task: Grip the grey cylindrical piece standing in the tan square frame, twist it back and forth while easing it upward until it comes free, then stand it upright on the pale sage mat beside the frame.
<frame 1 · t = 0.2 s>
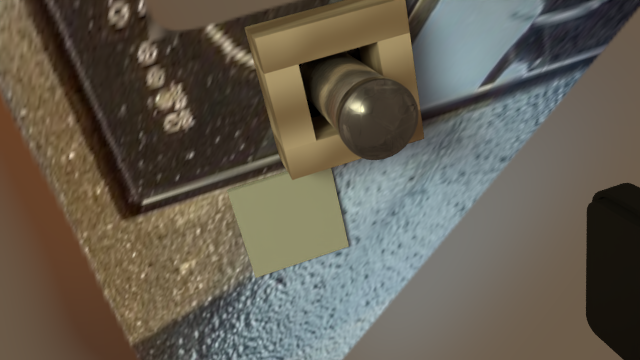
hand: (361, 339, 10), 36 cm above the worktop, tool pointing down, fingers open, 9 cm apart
mat: (290, 218, 50), on the worktop
grey cylindrical piece: (350, 96, 40), in the tan square frame
tan square frame: (327, 76, 46), on the worktop
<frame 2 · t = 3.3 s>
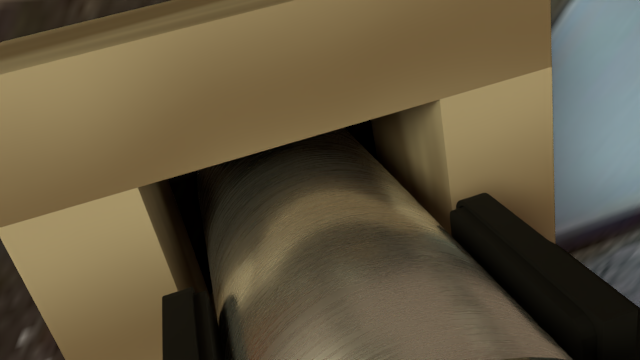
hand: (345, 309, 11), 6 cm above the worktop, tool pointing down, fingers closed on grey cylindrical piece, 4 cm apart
grey cylindrical piece: (339, 296, 11), in the tan square frame, touching gripper
tan square frame: (280, 180, 16), on the worktop
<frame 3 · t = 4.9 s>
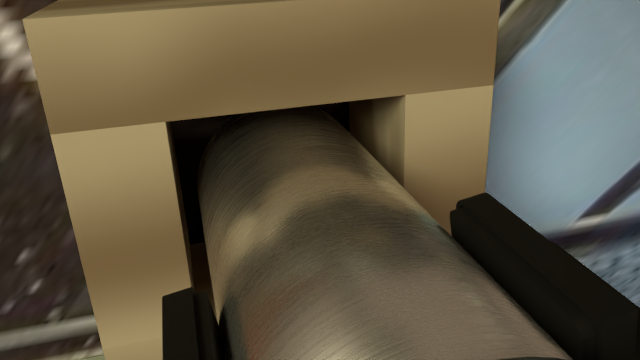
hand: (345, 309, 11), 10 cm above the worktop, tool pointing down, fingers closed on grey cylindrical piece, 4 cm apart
grey cylindrical piece: (339, 296, 11), point 9 cm above the worktop, touching gripper
tan square frame: (266, 154, 19), on the worktop
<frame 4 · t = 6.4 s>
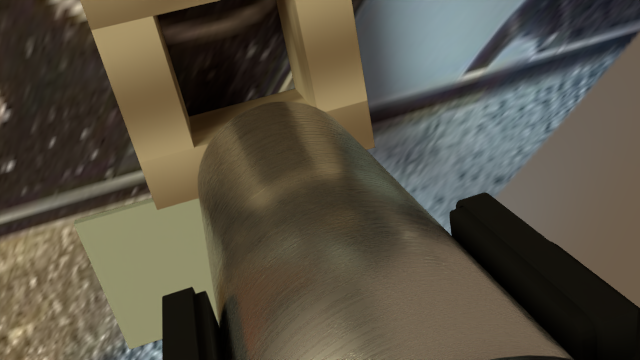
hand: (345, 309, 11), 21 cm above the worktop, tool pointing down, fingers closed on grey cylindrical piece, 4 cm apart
mat: (180, 262, 33), on the worktop
grey cylindrical piece: (340, 296, 11), point 21 cm above the worktop, touching gripper
tan square frame: (228, 48, 29), on the worktop
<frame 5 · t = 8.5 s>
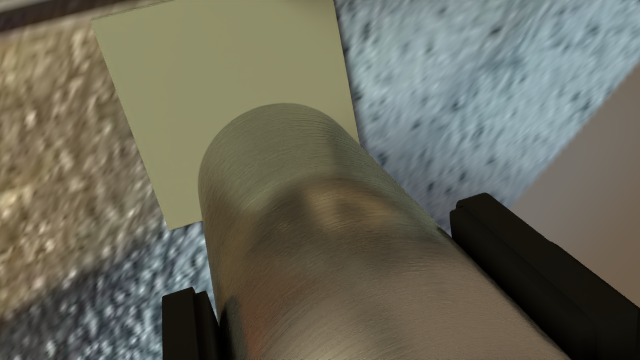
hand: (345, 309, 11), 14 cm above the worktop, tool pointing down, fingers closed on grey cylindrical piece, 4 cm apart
mat: (241, 101, 23), on the worktop
grey cylindrical piece: (340, 299, 11), point 14 cm above the worktop, touching gripper
when the fingers open (8 cm above the worktop, at t = 10.0 s): grey cylindrical piece drops 1 cm, resting on mat.
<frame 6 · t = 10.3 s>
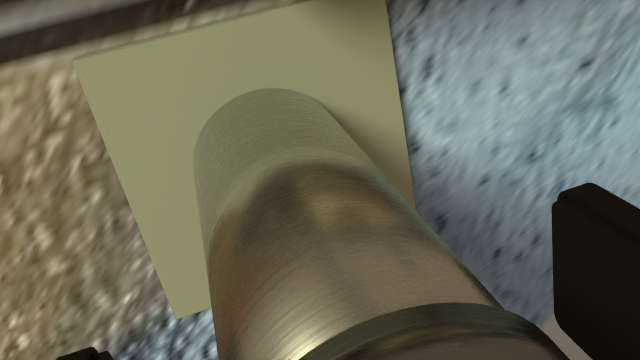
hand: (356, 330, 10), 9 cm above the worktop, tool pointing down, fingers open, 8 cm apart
mat: (269, 157, 18), on the worktop
grey cylindrical piece: (318, 265, 12), on the mat
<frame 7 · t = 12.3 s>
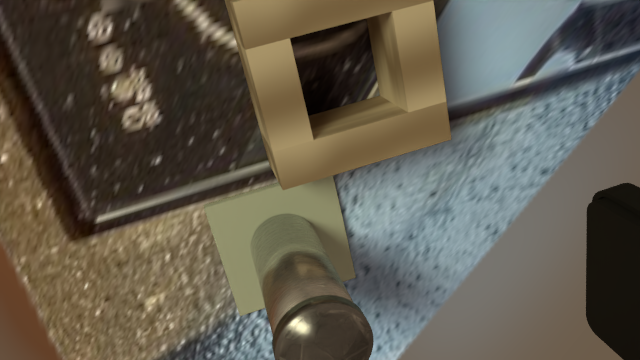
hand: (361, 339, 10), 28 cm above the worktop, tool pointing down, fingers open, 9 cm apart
mat: (283, 241, 40), on the worktop
grey cylindrical piece: (301, 288, 34), on the mat
tan square frame: (329, 63, 37), on the worktop
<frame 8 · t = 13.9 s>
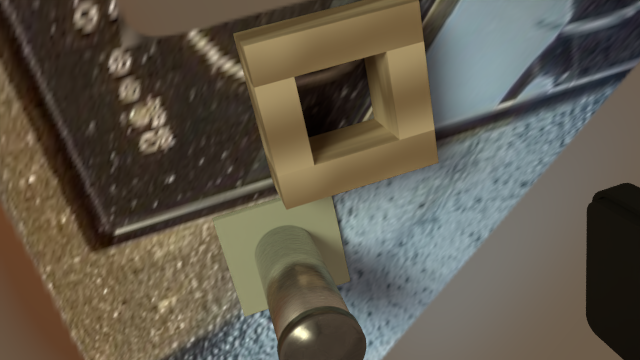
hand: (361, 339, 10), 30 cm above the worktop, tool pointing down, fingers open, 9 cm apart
mat: (284, 249, 44), on the worktop
grey cylindrical piece: (302, 296, 38), on the mat
tan square frame: (328, 90, 40), on the worktop
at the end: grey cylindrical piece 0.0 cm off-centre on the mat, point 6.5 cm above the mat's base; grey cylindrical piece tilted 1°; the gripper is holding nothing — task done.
